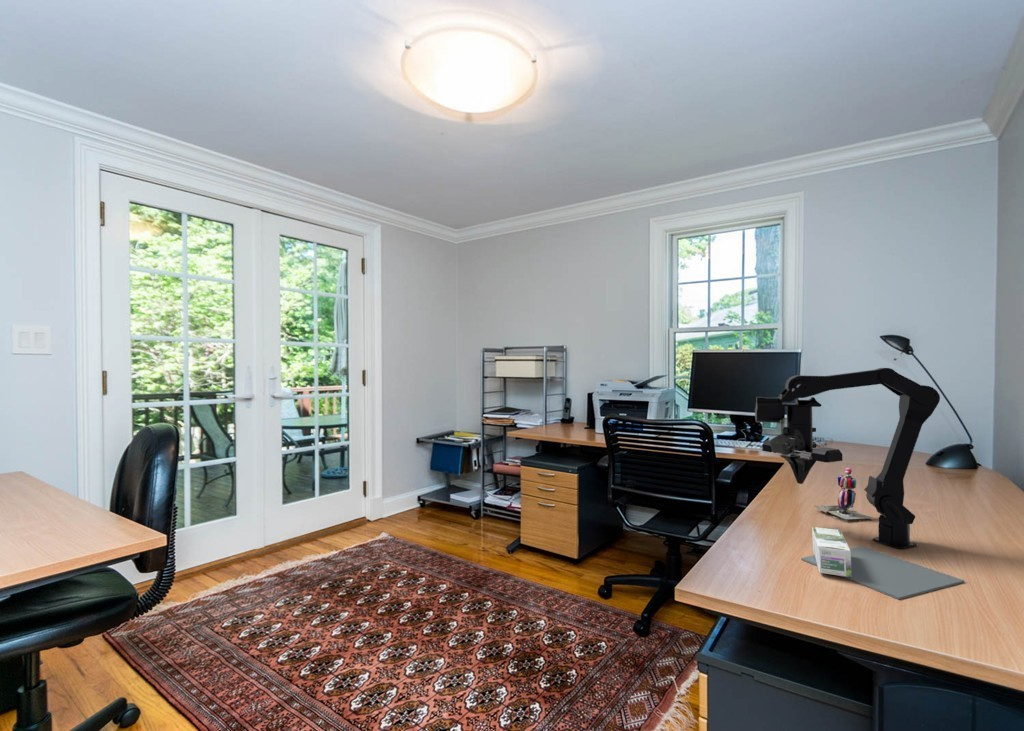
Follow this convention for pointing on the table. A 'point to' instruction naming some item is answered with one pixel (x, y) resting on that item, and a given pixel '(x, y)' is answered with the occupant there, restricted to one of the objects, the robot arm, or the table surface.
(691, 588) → the table surface
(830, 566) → the syrup box
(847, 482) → the statue
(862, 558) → the topple mat
